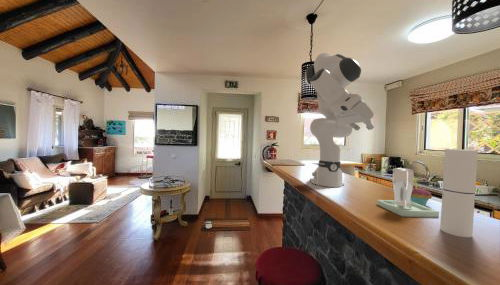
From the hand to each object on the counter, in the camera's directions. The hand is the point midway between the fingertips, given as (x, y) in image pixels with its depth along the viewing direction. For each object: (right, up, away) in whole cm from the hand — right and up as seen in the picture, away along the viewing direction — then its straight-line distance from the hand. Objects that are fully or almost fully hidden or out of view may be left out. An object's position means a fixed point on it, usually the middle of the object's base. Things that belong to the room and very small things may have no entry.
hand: (364, 129), depth 91 cm
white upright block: (+14, -31, -2) cm, 34 cm away
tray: (+14, -32, -3) cm, 35 cm away
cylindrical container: (+16, -33, -23) cm, 43 cm away
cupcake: (+27, -33, +6) cm, 43 cm away
